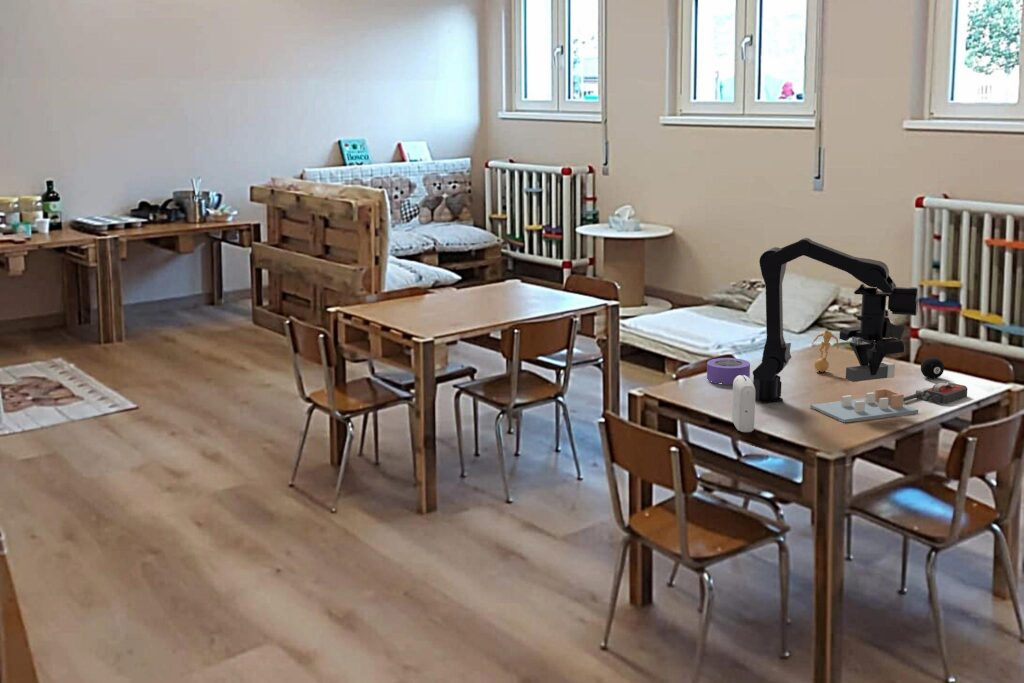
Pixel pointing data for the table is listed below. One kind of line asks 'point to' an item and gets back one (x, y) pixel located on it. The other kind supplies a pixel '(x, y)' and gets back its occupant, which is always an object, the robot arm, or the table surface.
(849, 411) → the board
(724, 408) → the table surface
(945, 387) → the walkie-talkie
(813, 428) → the table surface
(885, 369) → the rod
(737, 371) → the tape roll
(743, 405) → the photo printer
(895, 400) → the end holder
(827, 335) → the figurine
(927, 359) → the billiard ball
